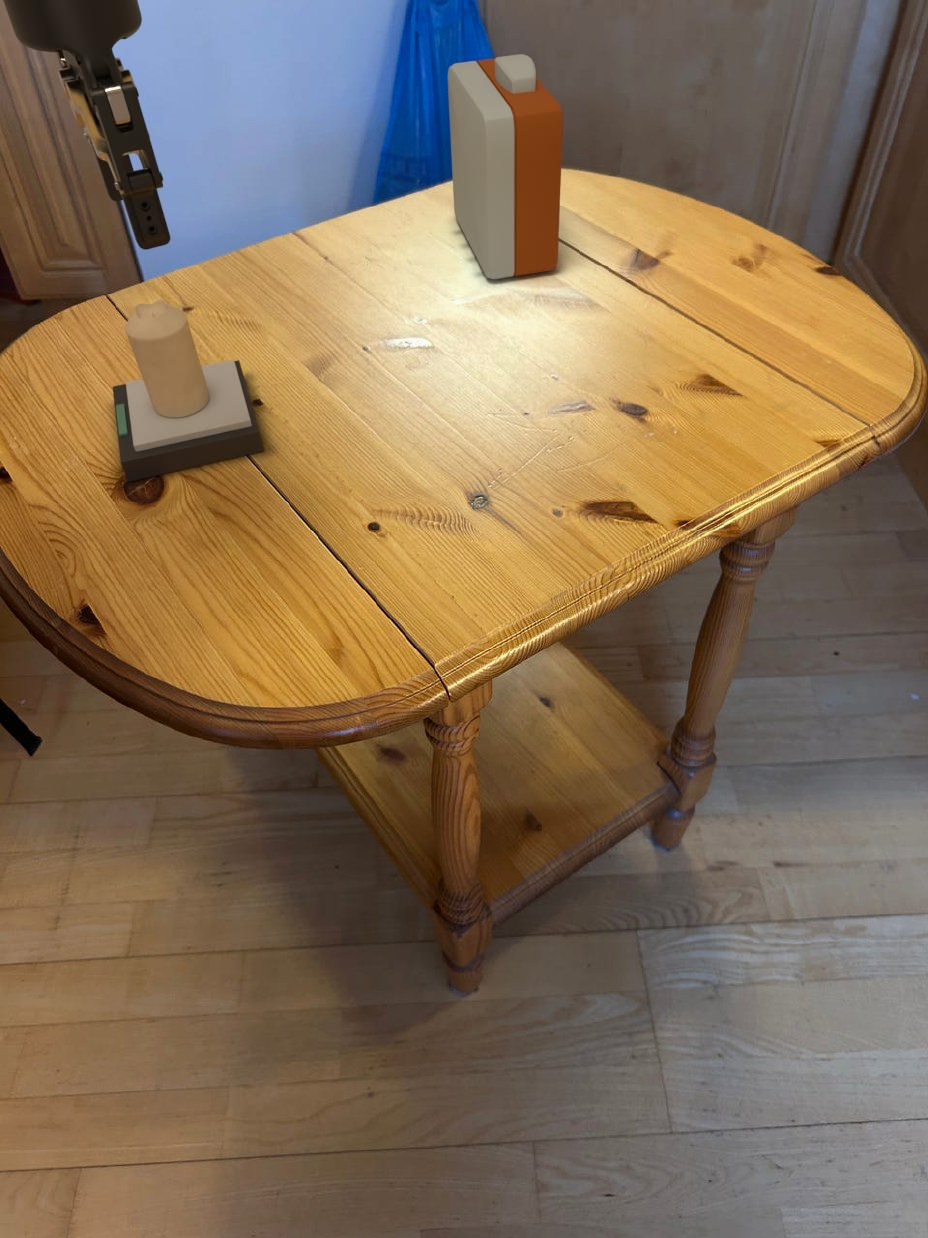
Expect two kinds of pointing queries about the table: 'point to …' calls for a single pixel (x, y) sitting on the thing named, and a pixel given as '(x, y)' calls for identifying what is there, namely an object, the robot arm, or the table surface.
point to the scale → (186, 426)
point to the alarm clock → (506, 164)
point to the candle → (167, 359)
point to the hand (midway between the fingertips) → (139, 220)
